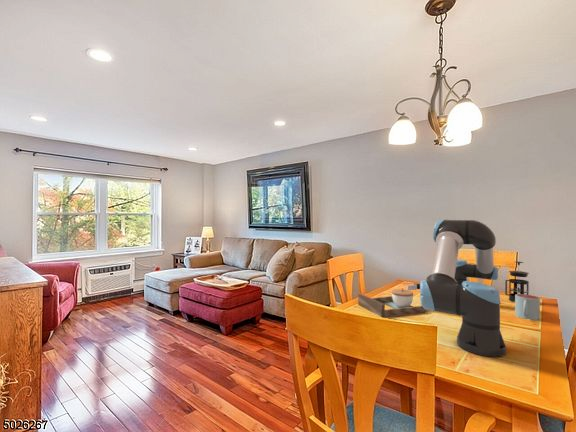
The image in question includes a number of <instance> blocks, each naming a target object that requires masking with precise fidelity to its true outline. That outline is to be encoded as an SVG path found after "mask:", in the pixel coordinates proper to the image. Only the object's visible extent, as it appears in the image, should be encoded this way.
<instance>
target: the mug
mask: <svg viewBox="0 0 576 432" xmlns="http://www.w3.org/2000/svg"><path fill="white" fill-rule="evenodd" d="M540 304H541V298H540V297H539V296H536V295H532V294H529V295H527V293H524V294H520V293H517V294H516V295H515V302H514V311H515V312H514V316H515V317H517V318H519V317H520V319H522V318H524V320H527V319H530V320H529V321H538V320H537V319H541V309H540V308H541V305H540Z"/></svg>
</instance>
